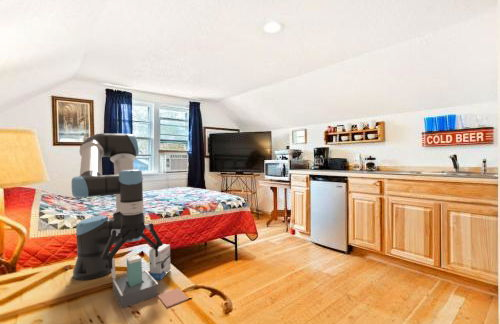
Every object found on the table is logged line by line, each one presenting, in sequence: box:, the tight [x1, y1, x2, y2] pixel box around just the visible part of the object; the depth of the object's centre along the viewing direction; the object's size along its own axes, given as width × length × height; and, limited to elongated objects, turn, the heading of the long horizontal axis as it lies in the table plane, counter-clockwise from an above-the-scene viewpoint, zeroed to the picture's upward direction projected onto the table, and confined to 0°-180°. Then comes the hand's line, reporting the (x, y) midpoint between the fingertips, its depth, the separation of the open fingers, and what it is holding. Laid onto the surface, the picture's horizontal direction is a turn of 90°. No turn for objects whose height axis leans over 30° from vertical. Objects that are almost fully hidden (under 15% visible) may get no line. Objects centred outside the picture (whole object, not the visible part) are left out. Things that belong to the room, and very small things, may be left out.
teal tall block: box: [126, 254, 143, 287], centre depth 94 cm, size 4×4×13 cm
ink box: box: [148, 243, 172, 281], centre depth 107 cm, size 8×5×12 cm, turn 168°
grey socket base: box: [112, 269, 159, 309], centre depth 94 cm, size 14×12×4 cm
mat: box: [157, 287, 190, 309], centre depth 91 cm, size 9×9×1 cm
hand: (134, 271), depth 93 cm, fingers open, 13 cm apart
